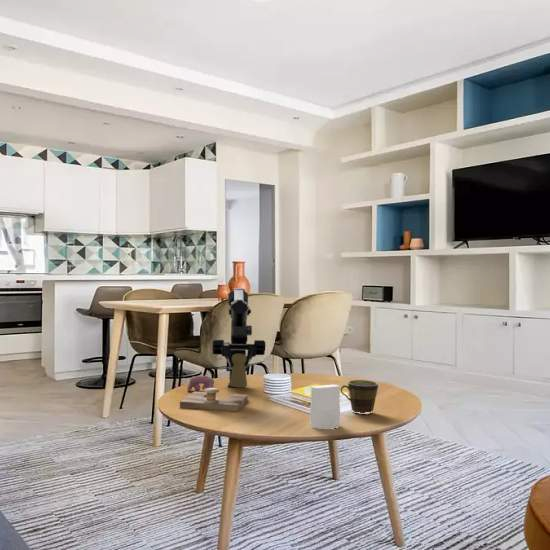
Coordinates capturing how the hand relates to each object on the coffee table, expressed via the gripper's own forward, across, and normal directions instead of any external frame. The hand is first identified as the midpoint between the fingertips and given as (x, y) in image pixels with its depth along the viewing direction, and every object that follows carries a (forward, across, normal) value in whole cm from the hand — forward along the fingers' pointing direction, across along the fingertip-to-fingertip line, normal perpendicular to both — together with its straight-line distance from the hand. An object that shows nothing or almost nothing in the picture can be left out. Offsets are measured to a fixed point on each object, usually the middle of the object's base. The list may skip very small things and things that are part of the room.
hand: (238, 367), depth 187 cm
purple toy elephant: (-6, -14, +25) cm, 29 cm away
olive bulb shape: (+4, 0, +6) cm, 7 cm away
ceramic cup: (+17, +40, +2) cm, 43 cm away
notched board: (+8, -8, +10) cm, 16 cm away
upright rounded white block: (+27, +26, -9) cm, 38 cm away
